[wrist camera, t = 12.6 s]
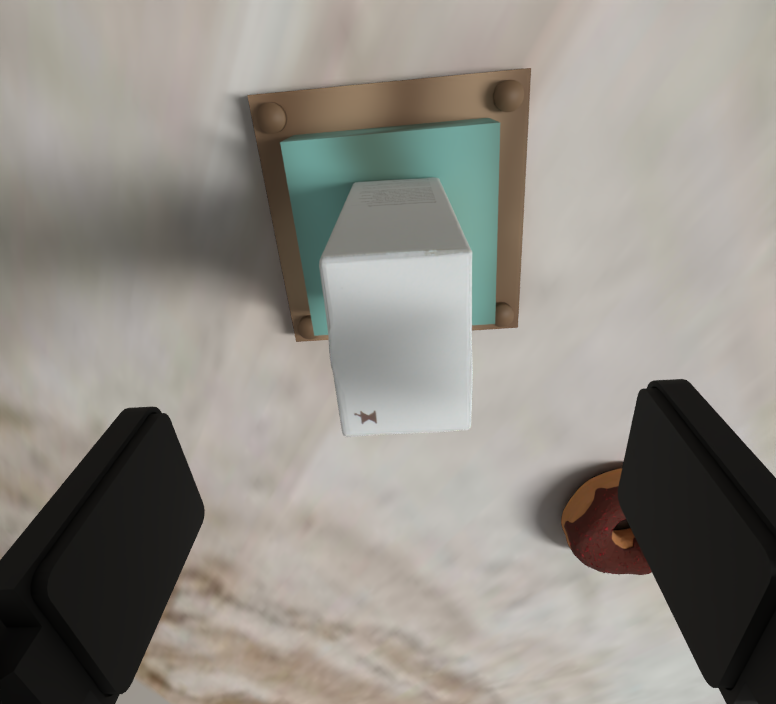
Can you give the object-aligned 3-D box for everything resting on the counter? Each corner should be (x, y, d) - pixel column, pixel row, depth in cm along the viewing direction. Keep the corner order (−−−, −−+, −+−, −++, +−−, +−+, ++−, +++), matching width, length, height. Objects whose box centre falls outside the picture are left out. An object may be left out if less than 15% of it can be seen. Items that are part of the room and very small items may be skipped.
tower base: (525, 68, 25) (549, 66, 21) (513, 319, 31) (530, 353, 27) (253, 94, 25) (226, 97, 21) (299, 333, 32) (285, 368, 28)
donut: (690, 529, 41) (717, 571, 37) (573, 558, 43) (588, 600, 39) (674, 441, 36) (703, 480, 33) (544, 479, 38) (558, 518, 35)
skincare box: (443, 292, 26) (473, 437, 15) (363, 296, 26) (338, 443, 16) (441, 171, 23) (477, 248, 12) (351, 177, 23) (310, 259, 13)
